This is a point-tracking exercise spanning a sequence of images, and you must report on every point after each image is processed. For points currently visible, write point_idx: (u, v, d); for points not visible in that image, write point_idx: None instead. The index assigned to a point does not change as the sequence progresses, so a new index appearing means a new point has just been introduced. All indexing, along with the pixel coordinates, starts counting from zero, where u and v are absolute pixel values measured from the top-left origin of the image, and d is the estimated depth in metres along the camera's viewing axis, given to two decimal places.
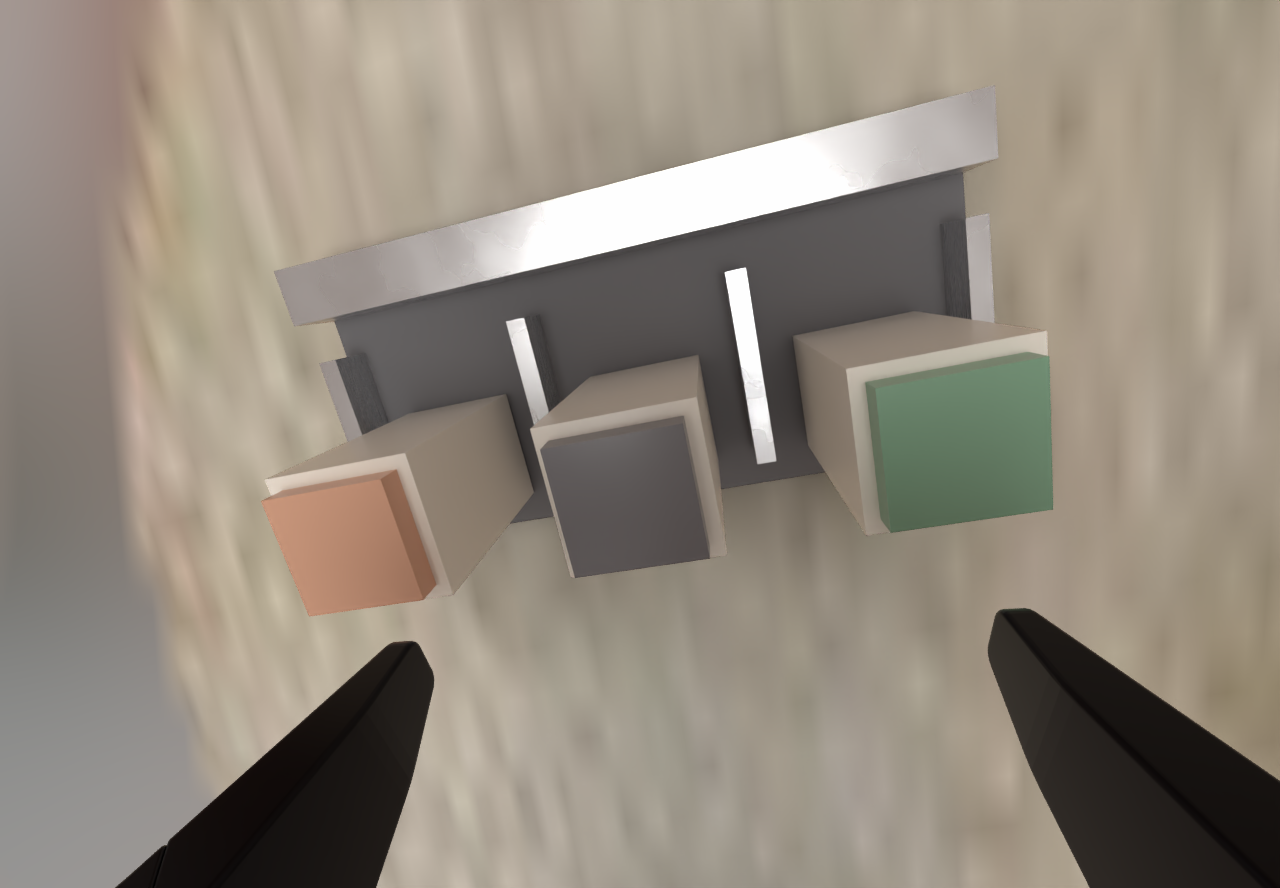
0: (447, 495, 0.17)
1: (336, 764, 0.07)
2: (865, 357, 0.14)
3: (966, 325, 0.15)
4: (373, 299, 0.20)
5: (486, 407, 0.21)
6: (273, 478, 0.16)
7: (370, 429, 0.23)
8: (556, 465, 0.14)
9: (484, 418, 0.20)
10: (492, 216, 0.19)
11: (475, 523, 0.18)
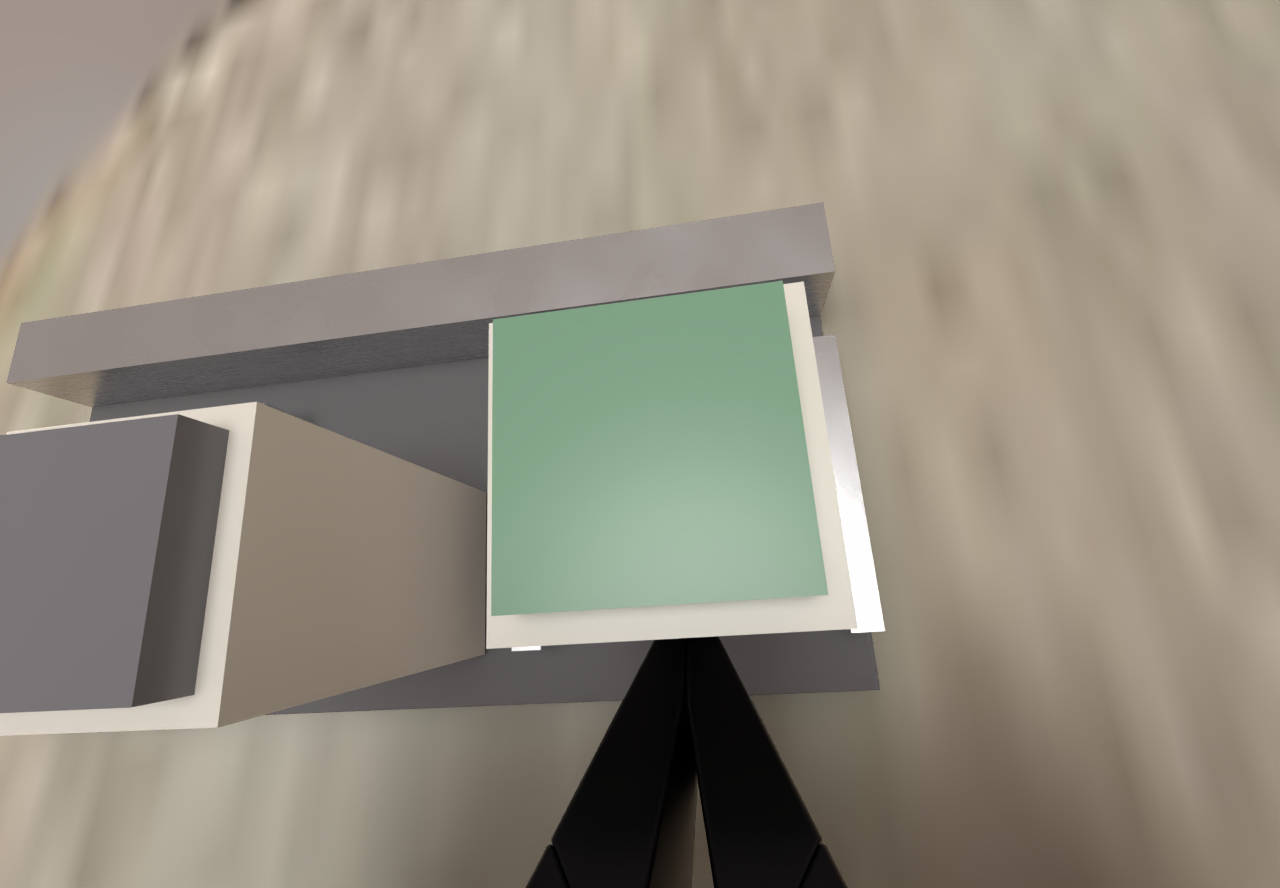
0: None
1: (678, 757, 0.07)
2: None
3: None
4: (104, 361, 0.17)
5: None
6: None
7: None
8: None
9: None
10: (265, 287, 0.16)
11: None
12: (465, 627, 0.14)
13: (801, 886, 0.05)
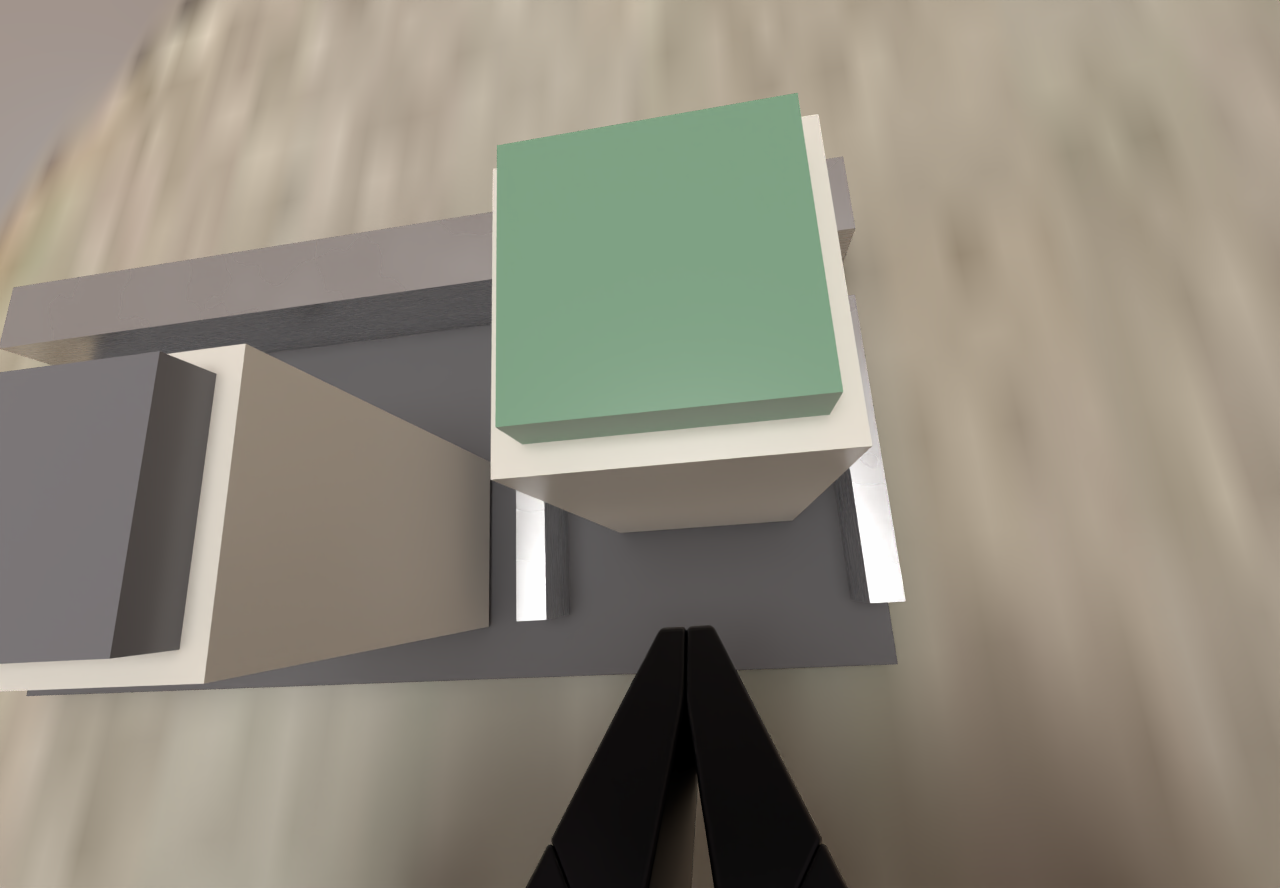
0: None
1: (678, 757, 0.07)
2: None
3: None
4: (98, 326, 0.16)
5: None
6: None
7: None
8: None
9: None
10: (262, 249, 0.16)
11: None
12: (468, 597, 0.14)
13: (801, 886, 0.05)
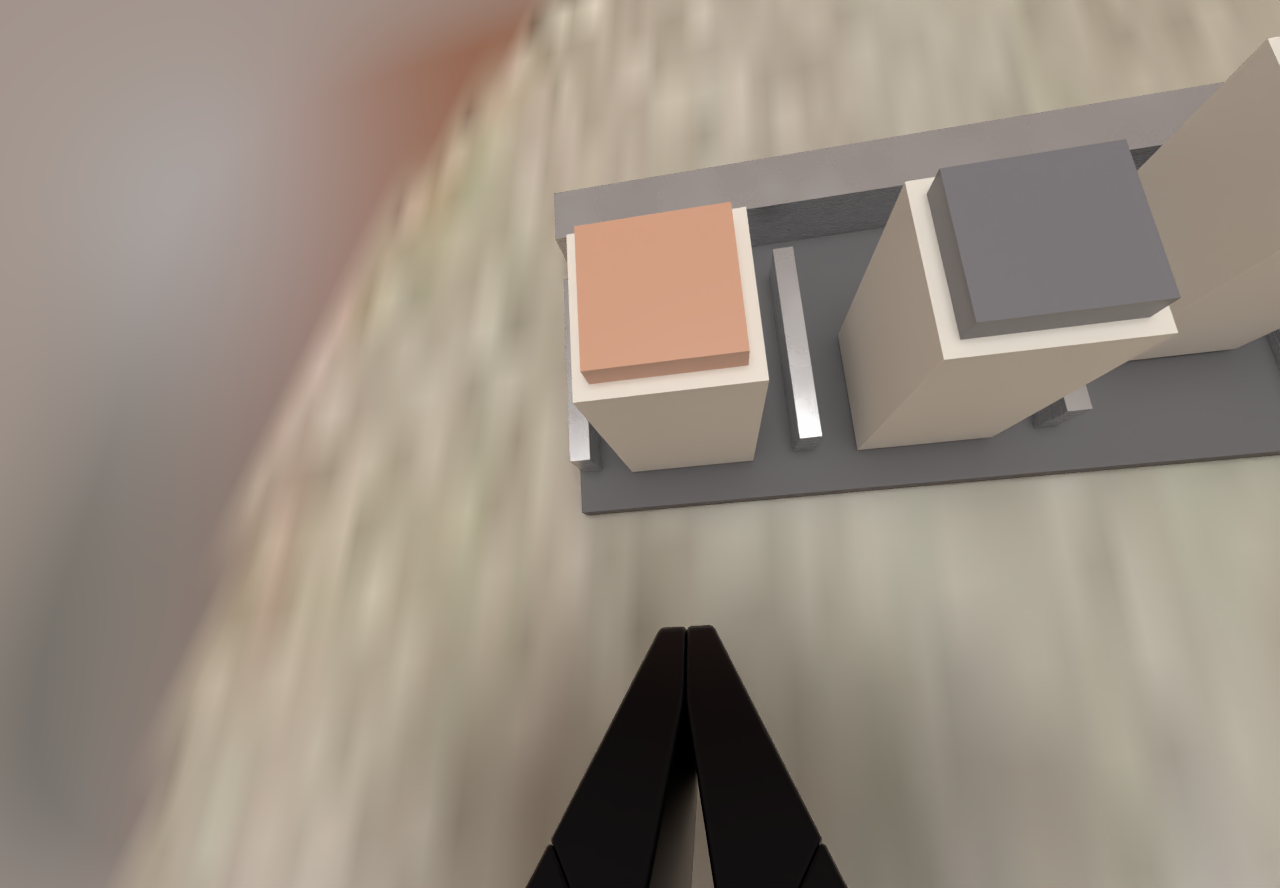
0: None
1: (678, 756, 0.07)
2: None
3: None
4: None
5: None
6: None
7: None
8: (959, 185, 0.12)
9: None
10: (780, 156, 0.20)
11: None
12: None
13: (802, 886, 0.05)
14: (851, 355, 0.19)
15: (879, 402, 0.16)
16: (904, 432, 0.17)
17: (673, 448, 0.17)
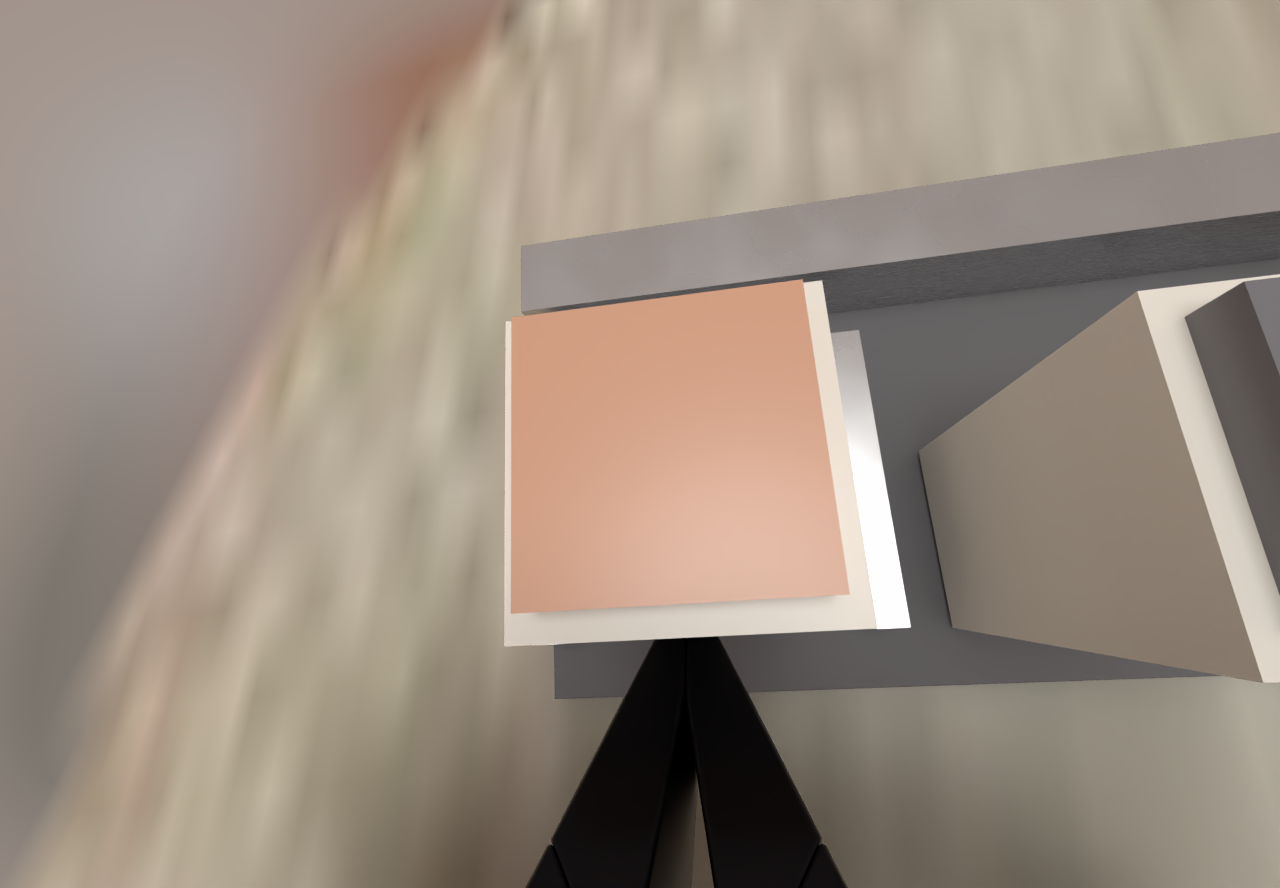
0: None
1: (678, 757, 0.07)
2: None
3: None
4: (646, 285, 0.15)
5: None
6: None
7: None
8: None
9: None
10: (840, 199, 0.14)
11: None
12: None
13: (802, 886, 0.05)
14: (948, 495, 0.13)
15: (1017, 604, 0.10)
16: None
17: None
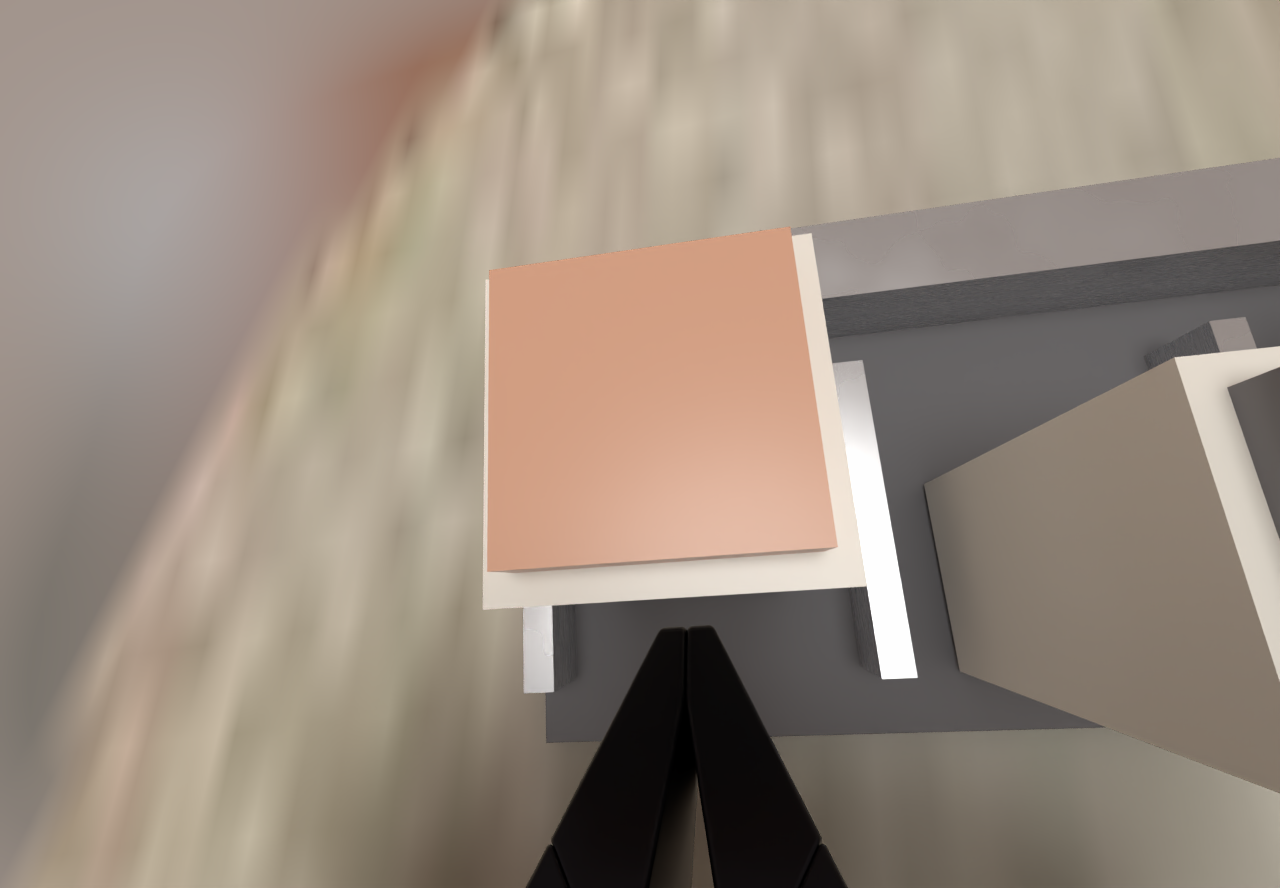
0: None
1: (678, 756, 0.07)
2: None
3: None
4: None
5: None
6: None
7: None
8: None
9: None
10: (842, 222, 0.14)
11: None
12: None
13: (802, 886, 0.05)
14: (955, 535, 0.12)
15: (1032, 663, 0.10)
16: None
17: None
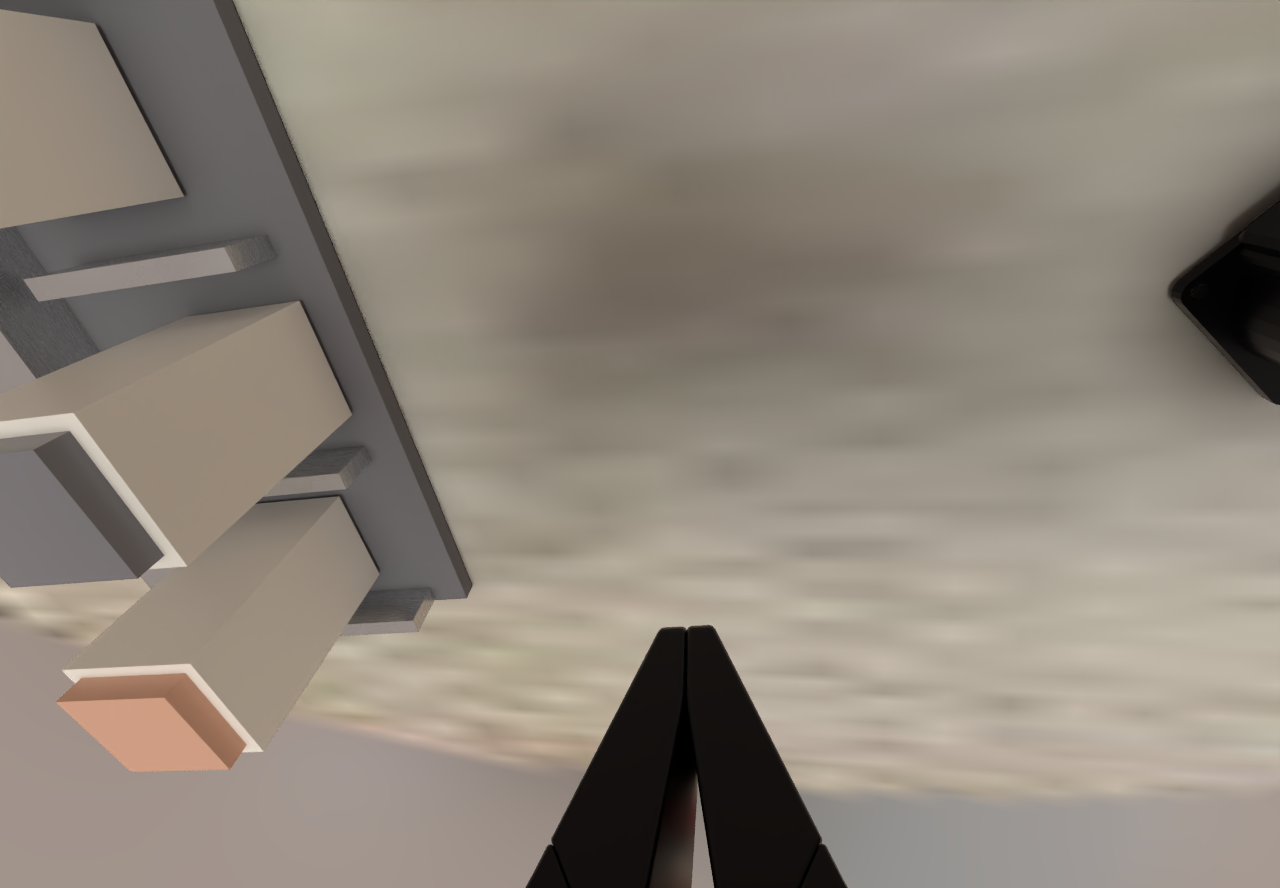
0: (151, 629, 0.18)
1: (678, 756, 0.07)
2: None
3: None
4: None
5: None
6: None
7: None
8: (18, 577, 0.14)
9: None
10: None
11: (218, 599, 0.19)
12: (256, 314, 0.18)
13: (802, 886, 0.05)
14: None
15: None
16: (310, 416, 0.19)
17: (326, 594, 0.22)
